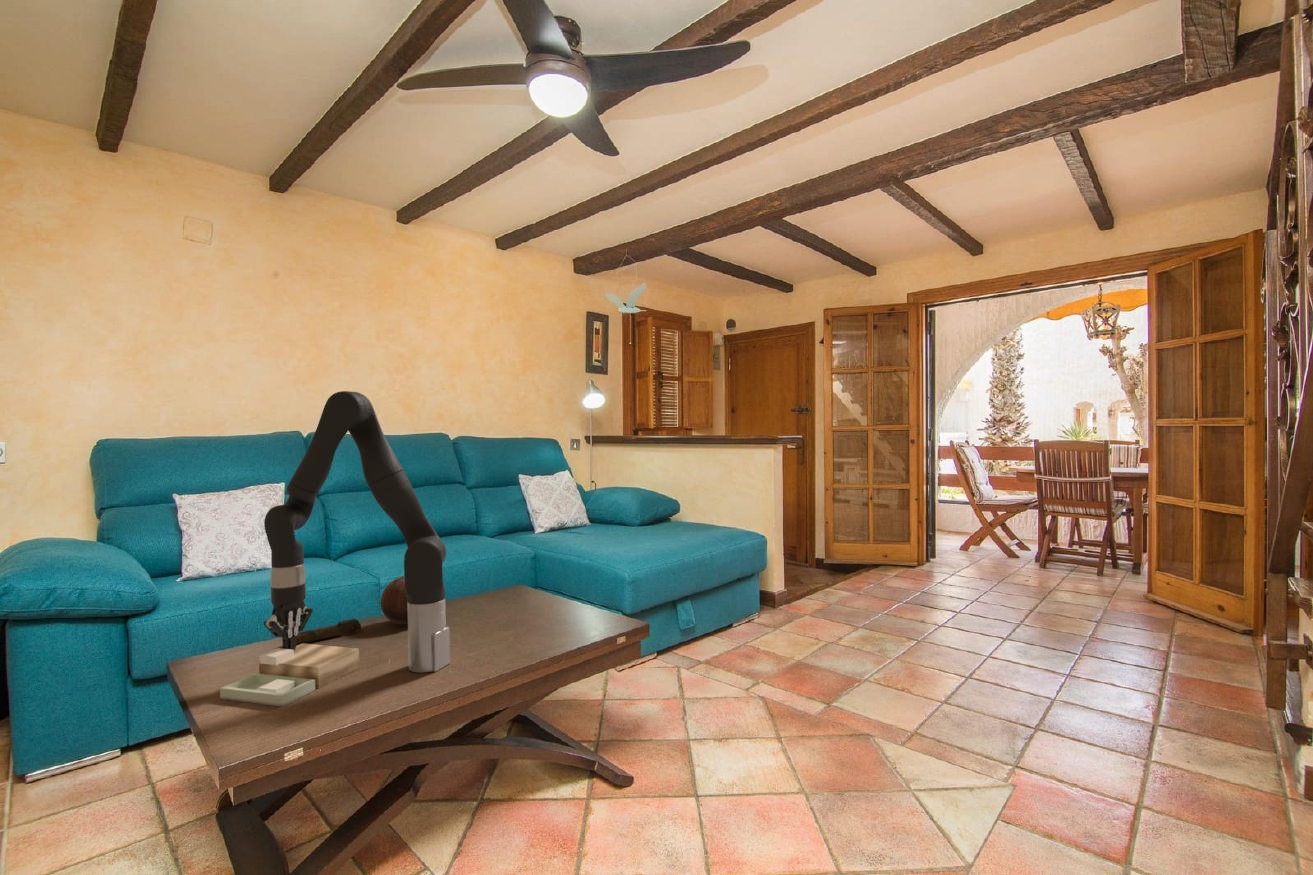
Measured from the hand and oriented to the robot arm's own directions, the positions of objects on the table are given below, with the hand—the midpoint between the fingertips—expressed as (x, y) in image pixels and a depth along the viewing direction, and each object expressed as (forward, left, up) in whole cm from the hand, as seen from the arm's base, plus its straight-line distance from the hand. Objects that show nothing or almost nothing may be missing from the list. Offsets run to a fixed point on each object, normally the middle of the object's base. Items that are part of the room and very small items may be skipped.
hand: (289, 651), depth 153 cm
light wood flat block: (-5, -1, -6) cm, 8 cm away
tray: (-5, +11, -6) cm, 13 cm away
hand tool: (+13, -25, -6) cm, 29 cm away
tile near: (-8, +11, -3) cm, 13 cm away
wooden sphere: (-1, -43, -6) cm, 43 cm away
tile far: (0, +4, -1) cm, 4 cm away
